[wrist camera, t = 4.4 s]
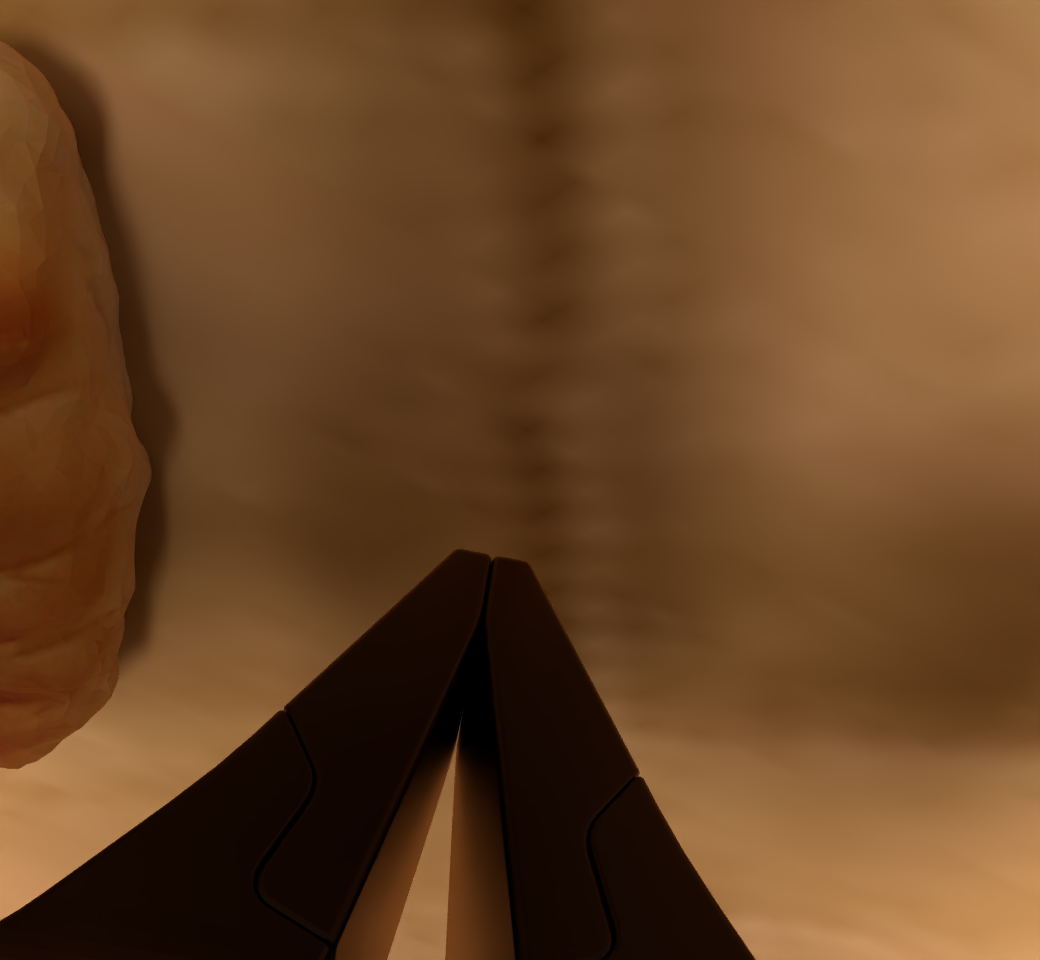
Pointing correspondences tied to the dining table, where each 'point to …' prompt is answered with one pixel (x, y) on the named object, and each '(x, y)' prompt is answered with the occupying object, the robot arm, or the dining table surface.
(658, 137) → the dining table surface
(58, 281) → the pastry
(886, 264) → the dining table surface
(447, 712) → the robot arm
